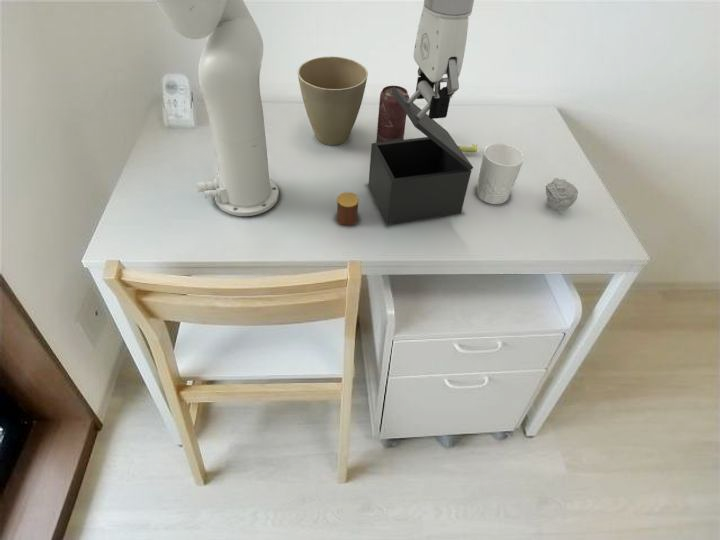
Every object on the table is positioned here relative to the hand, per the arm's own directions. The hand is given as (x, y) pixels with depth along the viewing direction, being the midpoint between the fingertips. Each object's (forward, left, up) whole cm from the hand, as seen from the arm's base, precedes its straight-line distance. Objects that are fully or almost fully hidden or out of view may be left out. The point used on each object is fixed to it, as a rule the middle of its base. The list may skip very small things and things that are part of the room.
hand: (430, 106), depth 92 cm
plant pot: (-11, +26, -21) cm, 35 cm away
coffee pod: (-15, -3, -21) cm, 26 cm away
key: (+14, +15, -21) cm, 29 cm away
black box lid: (+1, 0, -5) cm, 5 cm away
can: (+1, +19, -21) cm, 28 cm away
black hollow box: (0, 0, -21) cm, 21 cm away
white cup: (+17, -2, -21) cm, 27 cm away
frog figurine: (+28, -9, -21) cm, 36 cm away
